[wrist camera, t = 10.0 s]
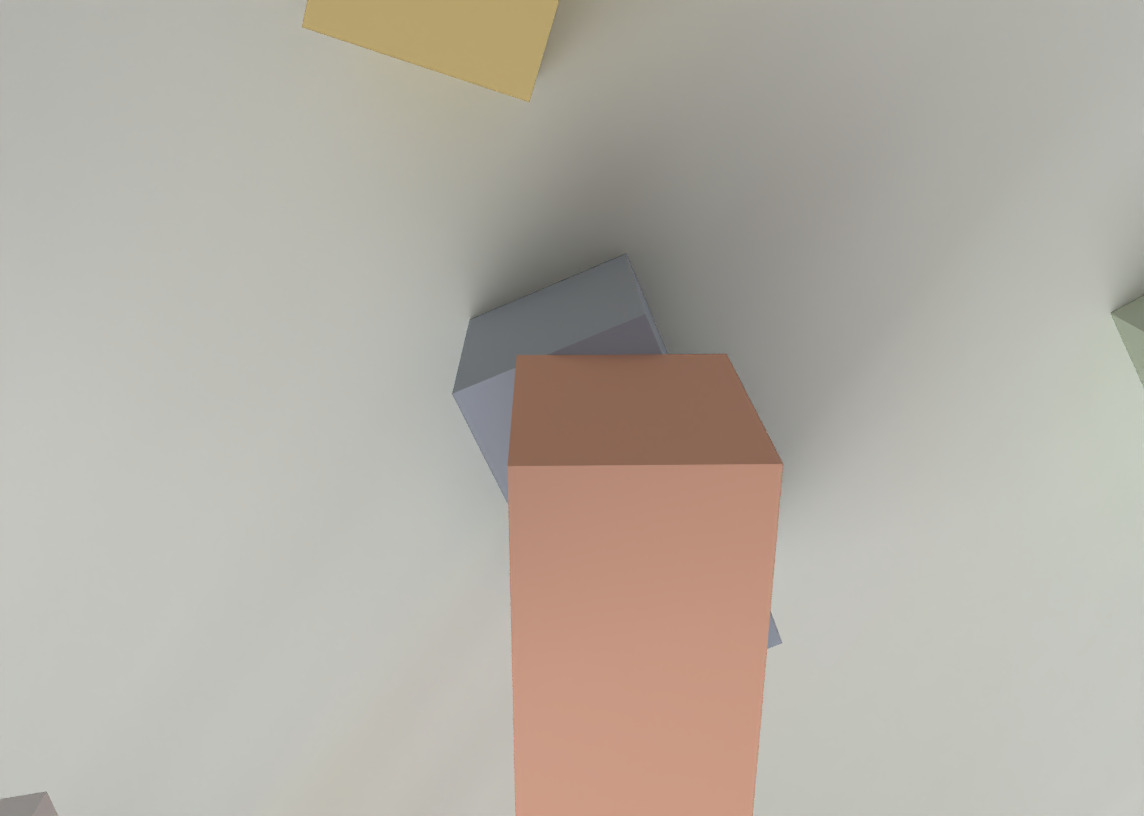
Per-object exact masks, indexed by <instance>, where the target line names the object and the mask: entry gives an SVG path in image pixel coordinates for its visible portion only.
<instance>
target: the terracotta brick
mask: <svg viewBox="0 0 1144 816" xmlns="http://www.w3.org/2000/svg"><path fill="white" fill-rule="evenodd" d="M782 471H783V463H782V461H781V459H780V457H779V455H778V453H777V451H776V449H775V447H774V445H773V443H772V441H771V439H770V437H769V436H768V434H767V432H766V430H765V428H764V426H763V424H762V422H761V420H760V418H759V416H758V414H757V412H756V410H755V408H754V406H753V404H752V402H751V400H750V398H749V397H748V395H747V393H746V391H745V389H744V387H743V385H742V383H741V381H740V379H739V377H738V375H737V373H736V371H735V369H734V367H733V365H732V363H731V361H730V360H729V358H728V356H727V354H621V355H517V357H516V369H515V381H514V394H513V406H512V418H511V431H510V443H509V455H508V505H509V549H510V593H511V637H512V681H513V725H514V769H515V813H516V816H753V807H754V795H755V784H756V772H757V761H758V749H759V737H760V726H761V714H762V703H763V691H764V680H765V668H766V656H767V645H768V633H769V622H770V610H771V599H772V587H773V575H774V564H775V552H776V541H777V529H778V517H779V506H780V494H781V483H782Z"/></svg>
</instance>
